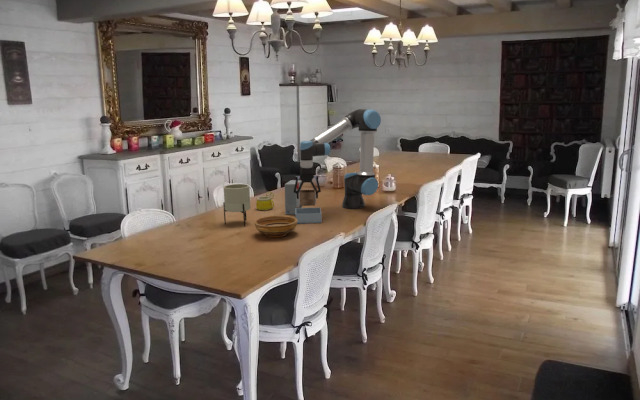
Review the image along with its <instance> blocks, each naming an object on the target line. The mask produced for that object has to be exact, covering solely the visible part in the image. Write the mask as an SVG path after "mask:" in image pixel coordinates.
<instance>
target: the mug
mask: <svg viewBox="0 0 640 400" xmlns="http://www.w3.org/2000/svg"><path fill="white" fill-rule="evenodd" d="M274 196H275V195H274V193H273V192H272V191H268V192H267V193H266V196H264V195H263V196H258V197H257V198H256V202H255V203H256V204H255V206H256V209H257V210H258V211H268V210H271V209H273V208H275V202H274V200H273V198H274Z"/></svg>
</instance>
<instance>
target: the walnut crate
mask: <svg viewBox="0 0 640 400" xmlns="http://www.w3.org/2000/svg"><path fill="white" fill-rule="evenodd" d="M315 193H316V192H315V190H314V189H301V190H300V206H302V207H305V206H307V207H311V206H314V207H315V206H316V204H315Z"/></svg>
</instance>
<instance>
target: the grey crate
mask: <svg viewBox="0 0 640 400" xmlns="http://www.w3.org/2000/svg"><path fill="white" fill-rule="evenodd" d="M294 216H295V218H297V219H298V221H297V225H302V224H303V225H304V224H306V225H307V224H322V223H323V221H322V218H323V217H322V209H321V207H302V208H295V215H294Z"/></svg>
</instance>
